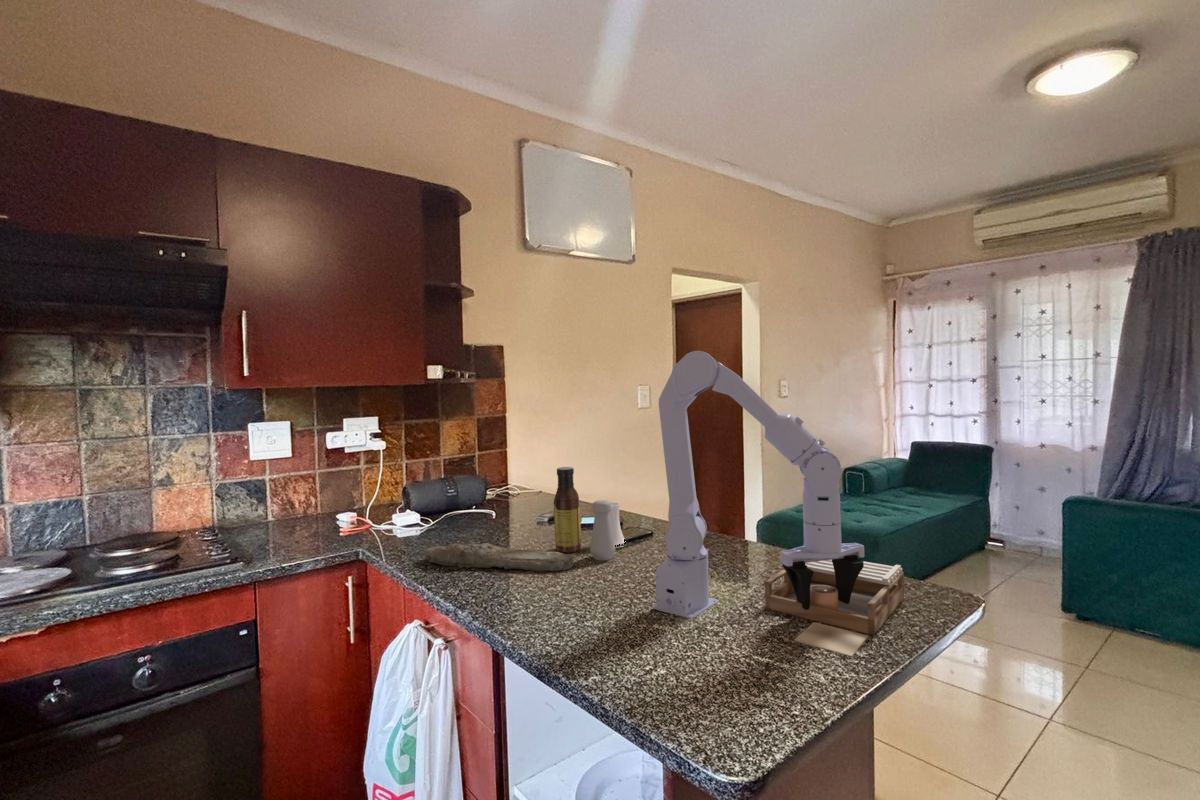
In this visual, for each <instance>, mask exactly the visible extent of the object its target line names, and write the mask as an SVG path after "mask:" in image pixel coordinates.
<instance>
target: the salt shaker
mask: <svg viewBox="0 0 1200 800" xmlns="http://www.w3.org/2000/svg"><path fill="white" fill-rule="evenodd" d="M611 503H612V502H610V501H608V500H604V499H603V500H602V499H599V500H596V501H594V502H593V503H592V512H594V513H595V514H594V519H593V526H592V532H591V538H590V544H589V550H590V553H591V555H592V558H593V559H594V560H595V561H599V562H603V561H604V562H605V561H609V560H612V559H613V557H614V553H615V551H616V548H615V544H614V538H613V533H612V528H611V522H610V517H609V512H610V511H611Z"/></svg>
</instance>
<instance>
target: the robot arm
mask: <svg viewBox="0 0 1200 800" xmlns="http://www.w3.org/2000/svg"><path fill="white" fill-rule="evenodd" d="M711 387H712V388H711ZM710 388H711V391H713V392H717V393H719V394H724V395H726V396H729V397H731V398H732V399H733V400H734V401H735V402H737V404H739V406H741V407H742V408H743V409H744V410H745V411H746V412H747V413H748V414H750V415H751V416H752V417H753V418H754V419H755V420H756V421H758V423H760V424H761V425H762V426H763V427H764V438H765V439H766V441H767V442H768V443H769V444H770V445H771V446H773V447H774V448H775V449H776V450H777V451H778V453H780V454H781V455H782V456H783V457H784V458H785V459H786V460H788V461H789V462H790V463H791V464H792V465H794V466H798V467H799V470H800V473H802V474H801V475H803V476H804V477H803V492H802V515H803V517H802V520H803V523H802V524H803V525H802V526H803V545H801V546H797V547H794V548H790V549H788V550H782V551H781V550H780V554H779V555H780V564H782V567H783V570H784V569H785V571H786V573H787V575H788V576H789V578H790V581H791V583H792V585H793V588H794V591H795V594H796V598H797V601H798V602H800V603H802V608H803V609H805V610H808V609H809V607H810V585H811V580H812V576H813V572H814V571H813V570H811V569H809V568H807V565H805V563H808V562H816V561H824V560H832V563H833V567H834V571H835V577H836V589H837V590H838V600H839V601H841V602H843V603H845V604H849V602H850V598H851V594H852V590H853V587H854V584H855V581H856V579H857V577H858V575H859V573H860V572H861V570H862V569H863V567H864V564H863V561H864V560H863V559H860V558H864V557H865V545H863V544H861V543H858V542H849V543H848V542H847V543H844V542H843V543H842V524H841V523H842V519H841V518H842V515H841V495H840V493H839V492H840V491H839V490H840V483H839V481H840V480H841V478H842V475H843V472H844V469H843V467H842V465H841V462H840V460H839V458H838V456H836V455H835V454H834V453H833V452H831V450H830V449H829V448H828V447H825V445H826V442H825V441H824V440H823V439H822V438H819V439H818V438H816V436H814V435H813V434H812V433H811V432H810V431H809V430H808V429H807V428H806V427H805V426H804V425H803V423H804V420H803V419H801V418H800V417H799V416H795V417H794V416H792V414H790V413H777V412H776V411H775V410H774V409H773V408H772V407H771V406H770V405H769V404H768V403H767V402H766V401H765V400H764V399H763V398H762V397H761V396H760V395H759V394H758V393H757V392H756V391H755V390H754V389H753V388H752V387H751V386H750V385H749V384H748V383H747V382H745V381H744V379H743V378H742V377H741V376H739V374H737V373H736V372H734V371H733V370H732V369H729V368H728V367H727V366H725V365H724V364H722V363H721V362H719V361H717V360H716V359H715V358H714V357H712V356H711V355H710V354H709V353H707V352H705V351H702V350H693V351H691V352H688V353H686V354H685V355H684V356H683V357H682V358H681V359H680V360H679V361H678V362H677V363H675V364H674V366H673V367H672V370H671V373H670V375H669V377H668V380H667V381H666V383H665V385H664V387H663V390H662V391H661V393H660V395H659V397H658V410H659V411H658V412H659V419H660V429H661V430H660V431H661V437H662V445H663V455H664V464H665V473H666V482H667V483H666V484H667V491H668V492H667V493H668V500H669V501H668V513H667V517H668V518H667V519H668V527H667V530H666V533H665V537H664V540H665V541H664V542H665V546H666V550H665V551H666V554H665V559H664V561H663V562H662V563H661V564H659V566H658V567H657V568H656V571H655V599H656V600H655V601H656V602H655V603H654V604H652V607H651V608H652V609H653V610H656V611H660V612H662V613H663V612H664V613H666V614H671V615H675V616H676V615H677V616H679V617H683V618H687V619H693V618H695V617H696V616H699V615H701V614H702V613H703V612H705V611H707V610H708V609H710V608H711V607H713V606H715V605H717V604H718V603H719V602H720V601H719V599H716V598H713V597H710V591H709V590H710V588H709V580H710V579H709V551H708V550H707V549H706V548H705V546H704V539H705V537H706V536H707V532H708V526H707V522H706V520H705V519H704V517H703V516H702V514H701V509H700V503H699V501H698V498H697V491H696V480H695V472H694V464H693V455H692V453H693V452H692V444H691V436H690V428H689V427H690V426H689V417H688V407H689V406H690V405H691V404H692V403H693V402H694V401H695V400H696V398H698V395H700V394H701V393H703V392H705V391H707V390H708V389H710Z"/></svg>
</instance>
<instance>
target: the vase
mask: <svg viewBox="0 0 1200 800" xmlns="http://www.w3.org/2000/svg"><path fill="white" fill-rule="evenodd" d="M610 503H611V511H610V512H609V517H610V522H611V528H612V533H613V538H614V544H615V545H616V547H615V549H620V548H623V547H624V546H621V545H622V544H623V545H624V543H625V542H626V541H627V540H626V541H625V542H624V539H625V536H624V535H623V531H622V529H621V523H620V503H618V502H610ZM626 543H627V542H626ZM619 544H620V547H619V546H618V547H617V545H619Z"/></svg>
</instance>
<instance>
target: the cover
mask: <svg viewBox="0 0 1200 800" xmlns="http://www.w3.org/2000/svg"><path fill="white" fill-rule="evenodd" d="M862 561H863V564H864V567H863V569H862V570H861V572H860V573H859V575H858V577H857V579H858V580H863V581H868V582H874V583H879V584H884V585H890V584H891V582H893V581H894V579H896V578H897V576H898V575H899V573H901V572H903V568H902V565H901V564H895V565H887V564H881V563H876V562H869V561H864V560H862ZM805 565H807V568H809V569H811V570H813V571H816V572H821V573H826V574H832V575H835V571H834V567H833V563H832V560H824V561H816V562H808V563H805Z"/></svg>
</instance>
